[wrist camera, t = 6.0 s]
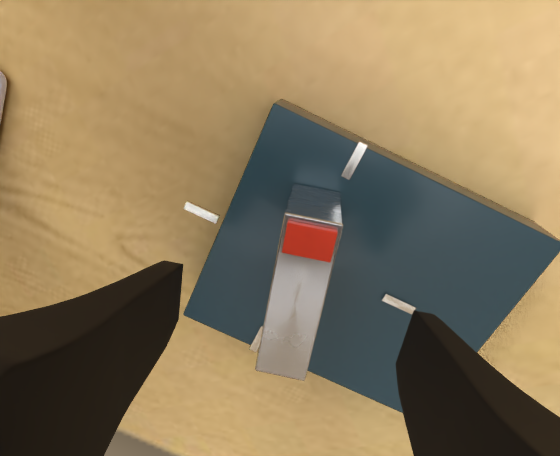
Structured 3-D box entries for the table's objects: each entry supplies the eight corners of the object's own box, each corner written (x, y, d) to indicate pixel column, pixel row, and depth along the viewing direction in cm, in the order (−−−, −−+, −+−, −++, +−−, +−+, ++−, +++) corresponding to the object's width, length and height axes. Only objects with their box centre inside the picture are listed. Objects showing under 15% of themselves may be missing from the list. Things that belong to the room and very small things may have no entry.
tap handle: (309, 324, 17) (304, 386, 14) (268, 315, 17) (253, 375, 14) (340, 192, 15) (344, 227, 12) (293, 182, 15) (283, 215, 12)
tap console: (169, 276, 20) (147, 304, 18) (246, 78, 16) (232, 79, 14) (409, 384, 21) (420, 425, 19) (535, 219, 17) (570, 244, 15)
